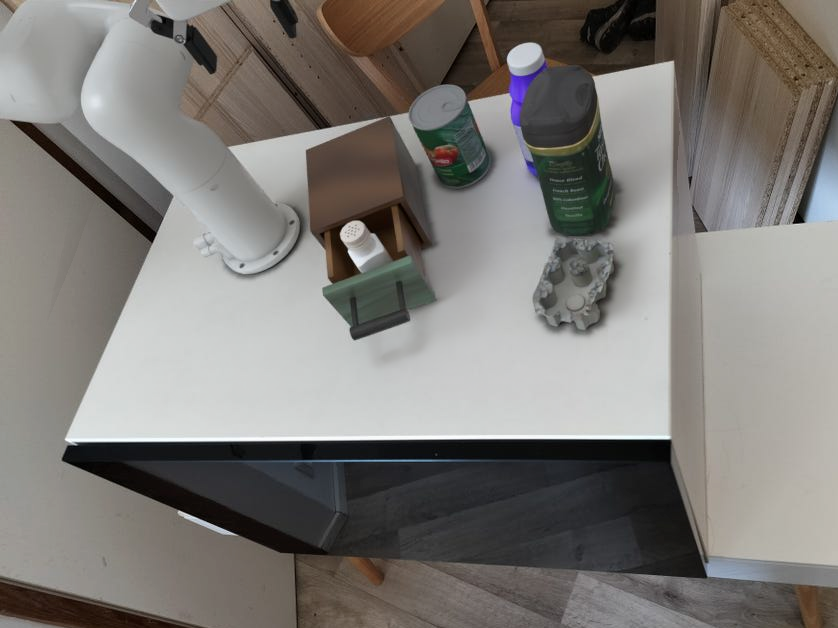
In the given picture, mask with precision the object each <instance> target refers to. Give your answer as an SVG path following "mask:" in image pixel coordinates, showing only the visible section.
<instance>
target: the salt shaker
mask: <svg viewBox="0 0 838 628" xmlns="http://www.w3.org/2000/svg"><path fill="white" fill-rule="evenodd" d="M340 237H341V240H342V241H343V242H344V244H345V245H346V246H347V248H348V253H349V255H350V257H351V258H352V260H353V262H354V263H355V265H356V266H357V268H358V269H359V270H360V271H361V273H364V272H366V271H369V270H372V269H374V268H377V267H380V266H383V265H385V264H388V263H391V262H393V259H392V258H391V256H390V255H389V254H388V252H387V251H386V249H385V248H384V246H383V245H382V243H381V242H380V240H379V239H378V237H377V236H376V235H375V234H373V233H370V232H369V230H368V229H367V228H366V226H365V225H364V223H362V222H361V221H352V222H350V223H347V224H346V225H345V226H344V227H343V228H342V230H341V233H340Z"/></svg>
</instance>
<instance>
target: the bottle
mask: <svg viewBox="0 0 838 628" xmlns="http://www.w3.org/2000/svg"><path fill="white" fill-rule="evenodd" d="M545 59H546V58H545V55H544V51H543V49H542V47H541V46H540V44H538V43H536V42H525V43H521V44H518V45H517V46H515V47H513V48H512V49H511V50H510V51H509V53H508V54H507V57H506V62H507V66H508V70H509V72H510V73H509V74H510V78H511V79H510V84H509V87H508V94H509V97H510V98H511V104H510V109H509V110H510V120H511V122H512V126H513V128H514V131H515V135H516V137H517V138H516V139H517V141H518V144H519V146H520V150H521V154H522V156H523V159H524V161H525V166H526V167H527V169H528V171H529V172H530V173H531V174H532V175H534V176H536V177H538V176H537V173H536V169H535V166H534V162H533V159H532V156H531V153H530V151H529V149H528V147H527V146H526V144H525V141H524V138H523V135H522V131H521V126H520V121H519V115H520V111H521V107H522V103H523V100H524V97H525V94H526V92H527V89H528V87H529V85H530V83H531V82H532V80H533V79H534V78H535V77H536V76H537V75H538V74H539V73H541V72H542V71H543V69H544V68H548V67H549V66H548V65H547V61H546V60H545Z"/></svg>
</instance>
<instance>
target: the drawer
mask: <svg viewBox="0 0 838 628" xmlns="http://www.w3.org/2000/svg"><path fill="white" fill-rule="evenodd" d="M353 221H361V222H362V223H364V225H365V226H366V228H367V229H368V230H369V232H370V233H373V234H375V235H376V236H377V237H378V239H379V240H380V242H381V243H382V245H383V246H384V248H385V249H386V251H387V252H388V254H389V255H390V256H391V258H392V259H393V262H391V263H388V264H385V265H383V266H380V267H377V268H374V269H372V270H369V271H366V272H364V273H361V271H360V270H359V269H358V268H357V266H356V265H355V263H354V262H353V260H352V258H351V257H350V255H349V253H348V248H347V246H346V245H345V244H344V242H343V241H342V240H341V237H340V233H341V230H342V228H343V227H344V226H345V225H346V224H347V223H346V224H343V225H340V226H338V227H335V228H332V229H330V230H327V231H325V232H324V236H325V249H326V250H325V249H324V250H325V257H326V258H325V261H326V263H325V264H326V275H327V279H328V281H329V282H330V283H331V284H329V285H326V286H323V287H322V288H321V289H322V292H321V293H322V296H323V297H324V298H325V300H326V301H327V302H328V304H330V305H331V306H332V308H333V309H334V310H335V311H336V312H337V313H338V315H340V316H341V318H342V319H343V320H344V321H345V322H346V323H347V324H348V325H349V329H348V330H349V331H348V332H349V335H350V337H351V339H352V340H353V341H358V340H360V339H361V340H362V339H364V338H366V337H370V336H372V335H375V334H378V333H381V332H384V331H387V330H389V329H392V328H395V327H397V326H401V325H405V324H408V323H409V322H411V321H412V319H411V315H410V311H409V310H411V309H412V310H413V309H414V308H417V307H420V306H423V305H426V304H428V303H431V302H434V301H436V300H437V298H436V292H435V291H434V289H433V288H432V286H431V285H430V283H429V281H428V280H427V277H426V270H425V266H424V265H425V263H424V259H423V254H422V249H421V248H420V242H419V237H418V232H417V230H416V228H415V227H414V225H413V223H412V222H411V220H410V218H409V217H408V215H407V213H406V212H405V210H404V208H403V207H402V205H401V203H398V204H395V205H392V206H390V207H387V208H385V209H382V210H379V211H377V212H374V213H372V214H369V215H366V216H364V217H361V218H359V219H356V220H353ZM351 222H352V221H351ZM348 223H350V222H348Z"/></svg>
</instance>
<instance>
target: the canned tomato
mask: <svg viewBox="0 0 838 628" xmlns="http://www.w3.org/2000/svg"><path fill="white" fill-rule="evenodd" d="M407 115H408V122H409V123H410V125H411V126H412V128H413V131H414V132H415V134H416V136H417V138H418V140H419V142H420V144H421V147H422V148H423V150H424V153H425V154H426V156H427V158H428V160H429V162H430V164H431V166H432V169H433V170H434V172H435V174H436V176H437V180H438V181H439V182H440V183H441V185H443V186H444V187H446V188H448V189H452V190H455V189H456V190H457V189H459V190H460V189H465V188H468V187H471V186H473V185H475V184H477V183H478V182H480V180H482V179H483V178H484V177H485V175H487V173H488V171H489V169H490V167H491V163H492V162H491V161H492V160H491V159H492V158H491V155H490V153H489V151H488V149H487V145H486V144H485V141H484V138H483V135H482V133H481V130H480V128H479V126H478V123H477V120H476V118H475V115H474V113H473V110H472V108H471V106H470V104H469V101H468V98H467V94H466V92H465V91H464V89H463V88H462V87H460V86H458V85H455V84H440V85H436V86H434V87H433V86H432V87H430V88H428V89H427V90H425V91H424V92H422V93H420V94H419V96H417V97H416V99H415V100H413V102H412V104H411V105H410V107H409V110H408V113H407Z"/></svg>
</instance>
